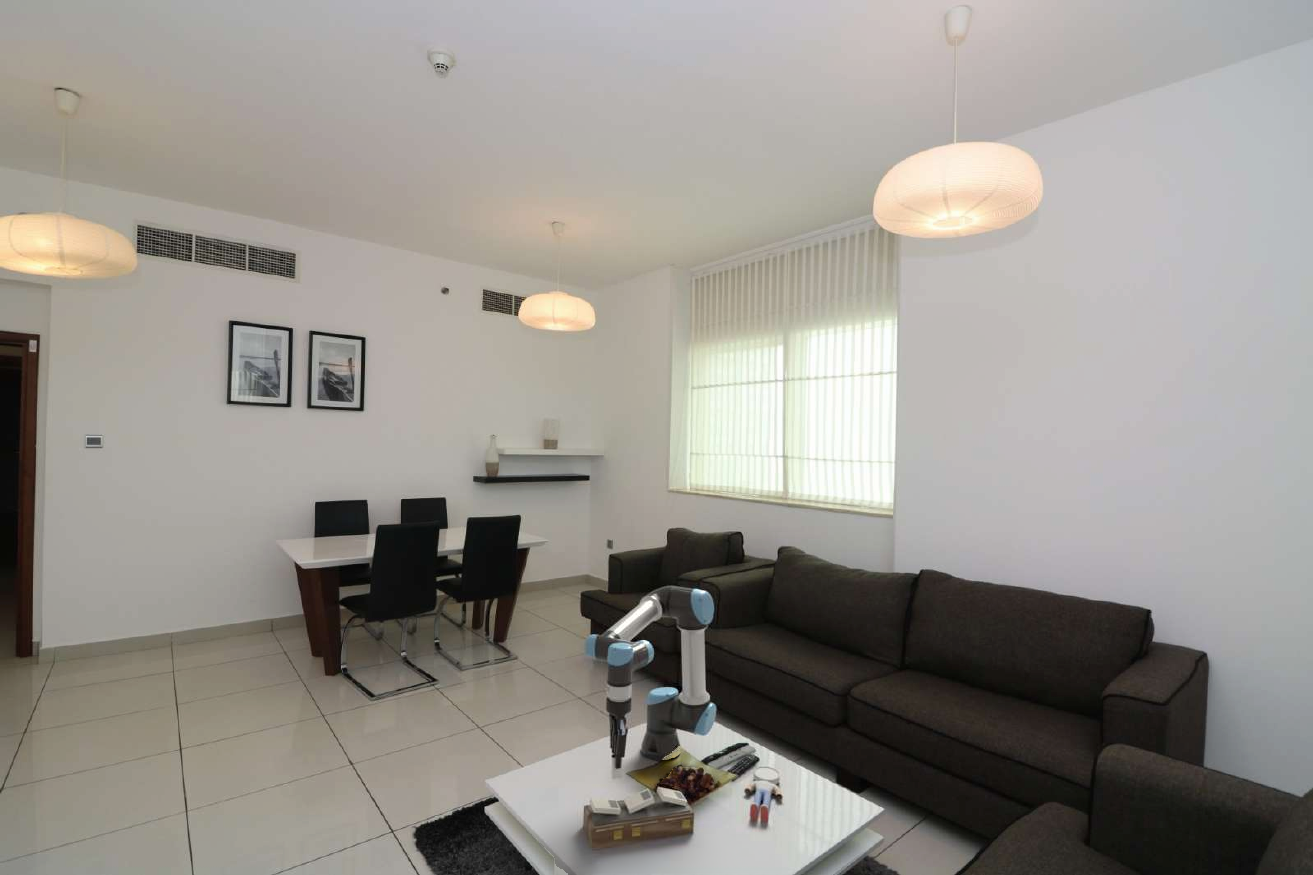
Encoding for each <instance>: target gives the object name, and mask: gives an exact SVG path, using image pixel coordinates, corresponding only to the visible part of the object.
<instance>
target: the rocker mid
mask: <svg viewBox="0 0 1313 875" xmlns="http://www.w3.org/2000/svg"><path fill="white" fill-rule="evenodd" d="M653 796H654V795H653V794H652V793H651V791H650V789H649V788H646V789H644V790H641V791H638V792H637V793H635V794H633V795H630V796H628V797H627V798H624V799H623V800H624V803H625V805H626V807H627V809H628V811H629V813H630V814H631V813H633V812H635V811H637V810H640V809H642V808H644V807H646V806H648V805H650V804H652V803H654V802H655V801H654V798H653Z"/></svg>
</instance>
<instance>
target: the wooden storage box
mask: <svg viewBox="0 0 1313 875" xmlns="http://www.w3.org/2000/svg"><path fill="white" fill-rule="evenodd" d="M652 796H653V798H654V801H655V802H654V803H652V804H650V805H648V806H646V807H644V808H642V809H640V810H637V811H635V812H633V813H631V814H630V813H629V811H628V809H627V807H626V805H625V803H624V799H619V800H616V801H617V803H618V805H619V807H620V809H621V811H620V814H607V813H594V812H593V809H592V807H591V804H586V805H584V806H583V817H582V818H583V819H582V820H583V821H582V822H583V823H582V824H583V825H582V826H583V830H584V832H585V835H586V837H587V838H586V839H587V842H588V844H589V846H590V848H591V851H593V850H594V851H595V850H600V849H606V848H612V847H618V846H624V845H631V844H635V843H637V844H638V843H642V842H648V841H655V840H661V839H667V838H672V837H678V836H685V835H690V833H691V834H694V827H695V825H694V824H695V812H694V811H693V809H692V808H691V806H690V804H689V802H687V804H686V806H684V805H679V804H675V803H670V802H666V801H662V799H661V798H660V796H659V794H656V795H652Z"/></svg>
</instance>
